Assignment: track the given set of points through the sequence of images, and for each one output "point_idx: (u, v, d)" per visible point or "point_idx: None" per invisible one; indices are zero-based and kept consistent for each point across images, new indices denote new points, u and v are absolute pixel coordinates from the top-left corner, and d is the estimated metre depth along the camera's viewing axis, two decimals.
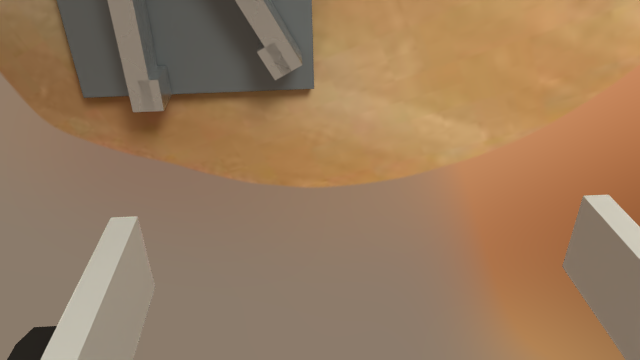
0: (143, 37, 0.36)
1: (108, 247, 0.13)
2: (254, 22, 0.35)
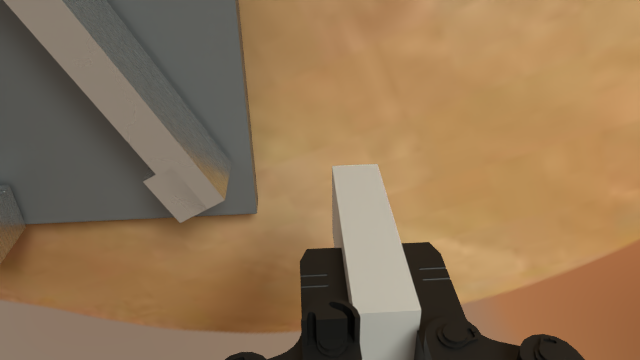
0: None
1: (346, 187, 0.16)
2: (132, 136, 0.19)
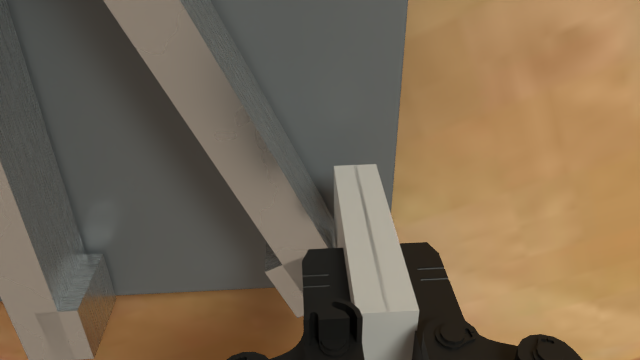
0: (42, 230, 0.17)
1: (348, 187, 0.16)
2: (265, 222, 0.16)
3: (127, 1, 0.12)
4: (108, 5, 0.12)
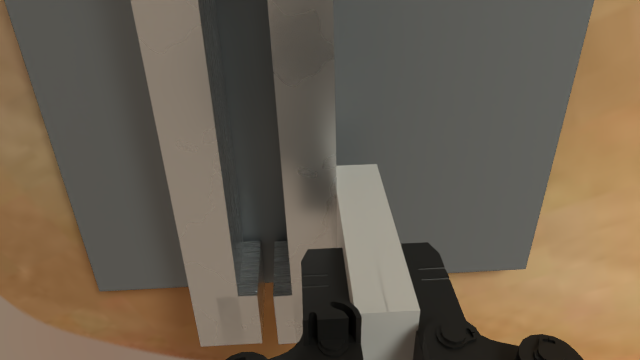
0: (231, 216, 0.17)
1: (347, 188, 0.16)
2: (298, 254, 0.17)
3: (289, 33, 0.13)
4: (271, 29, 0.13)
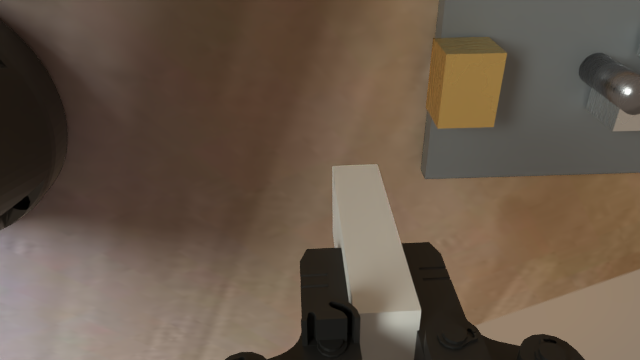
0: None
1: (346, 187, 0.16)
2: None
3: None
4: None
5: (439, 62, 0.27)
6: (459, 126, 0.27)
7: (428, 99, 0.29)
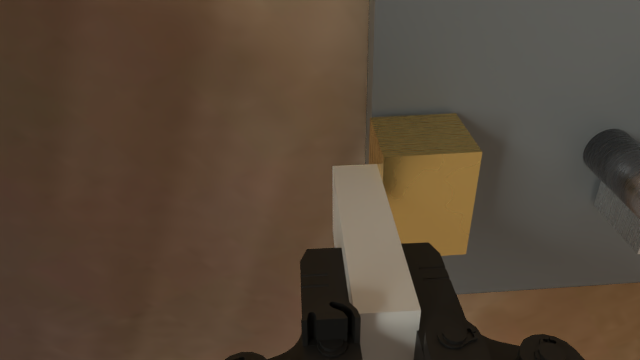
0: None
1: (346, 188, 0.16)
2: None
3: None
4: None
5: (377, 161, 0.17)
6: None
7: None
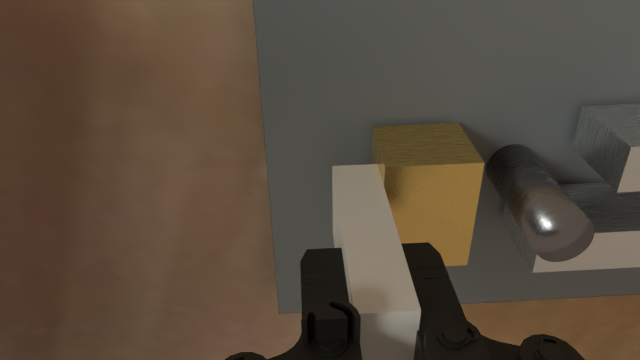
0: None
1: (346, 187, 0.16)
2: None
3: None
4: None
5: None
6: None
7: None
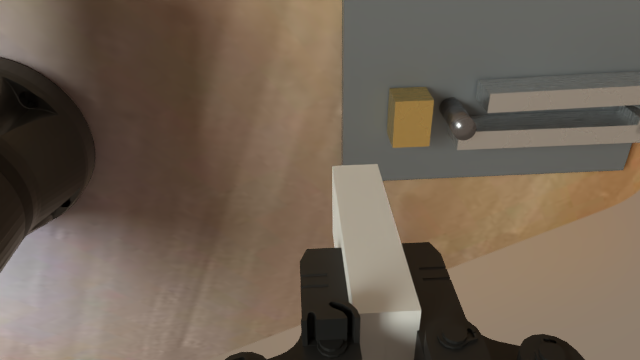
0: (598, 122, 0.42)
1: (346, 188, 0.16)
2: (624, 101, 0.41)
3: (534, 104, 0.40)
4: (531, 110, 0.41)
5: (392, 105, 0.41)
6: (406, 146, 0.42)
7: (387, 127, 0.44)
